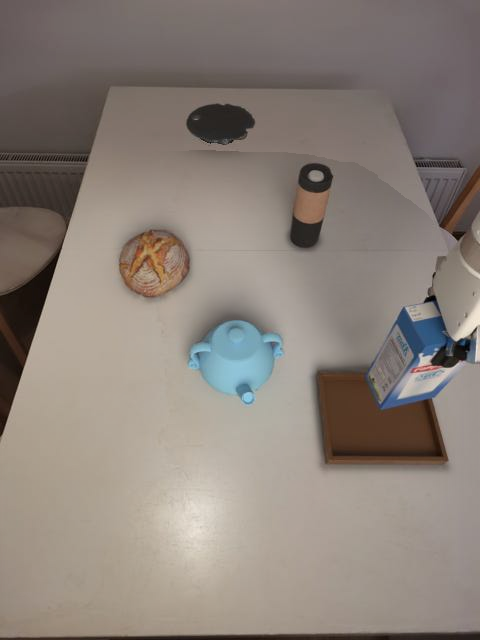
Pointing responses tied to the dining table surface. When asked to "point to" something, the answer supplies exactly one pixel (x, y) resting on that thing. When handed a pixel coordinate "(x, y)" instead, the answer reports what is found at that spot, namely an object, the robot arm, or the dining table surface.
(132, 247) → the bread
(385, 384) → the milk carton
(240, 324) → the teapot
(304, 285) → the dining table surface
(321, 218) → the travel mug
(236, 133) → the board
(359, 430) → the tray
